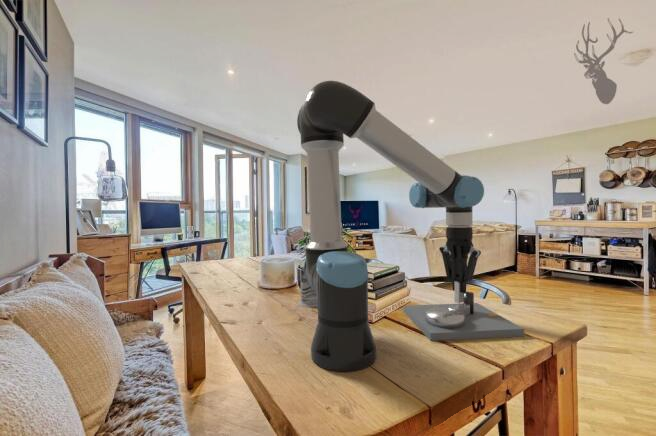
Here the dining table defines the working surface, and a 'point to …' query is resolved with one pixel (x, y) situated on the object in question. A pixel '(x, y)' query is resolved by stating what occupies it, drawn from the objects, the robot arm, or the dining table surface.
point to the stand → (465, 324)
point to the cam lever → (451, 313)
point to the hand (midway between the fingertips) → (459, 301)
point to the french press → (310, 299)
